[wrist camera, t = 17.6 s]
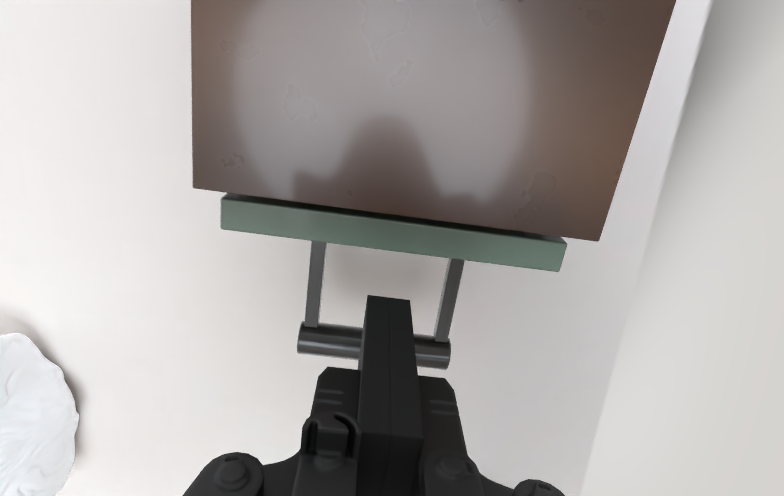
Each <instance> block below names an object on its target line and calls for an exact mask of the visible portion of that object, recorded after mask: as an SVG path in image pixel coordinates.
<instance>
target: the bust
mask: <svg viewBox="0 0 784 496" xmlns="http://www.w3.org/2000/svg"><path fill="white" fill-rule="evenodd" d="M78 422H79V414H78V412H77V411H76V407H75V401H74V399H73V396H72V393H71V391H70V389H69V387H68V385H67V384H66V382H65V380H64V374H63V371H62V369H61V368H60V367H58V366H57V365H55V364H54V363H52V362H51V361H49V360H48V359H46V358H45V357H44V356H43V355H42V353H41V352H40V350H39V349H38V348H37V347H36V346H35V345H34V343H33V342H32V341H31V340H30V339H29V338H28V337H27V336H25V335H23V334H20V333H10V334H5V335H0V496H54V495H56V494H57V493H58V492H59V491H60V490H61V488H62V487H63V485H64V484H65V482H66V480H67V477H68V475H69V472H70V470H71V468H72V466H73V463H74V460H75V440H74V435H75V432H76V429H77V426H78Z"/></svg>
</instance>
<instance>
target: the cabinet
mask: <svg viewBox="0 0 784 496" xmlns="http://www.w3.org/2000/svg"><path fill="white" fill-rule="evenodd" d="M675 3H676V0H191V62H192V160H193V188H196V189H204V190H211V191H219V192H227V193H234V194H242V195H249V196H257V197H265V198H272V199H280V200H287V201H295V202H302V203H310V204H318V205H325V206H333V207H340V208H348V209H355V210H363V211H371V212H378V213H386V214H393V215H401V216H408V217H416V218H424V219H431V220H439V221H446V222H454V223H461V224H469V225H477V226H484V227H492V228H499V229H507V230H515V231H522V232H530V233H537V234H545V235H552V236H560V237H568V238H575V239H583V240H590V241H599V239H600V236H601V233H602V230H603V227H604V224H605V220H606V217H607V214H608V211H609V208H610V205H611V202H612V199H613V196H614V192H615V189H616V186H617V183H618V180H619V177H620V174H621V171H622V168H623V164H624V161H625V158H626V155H627V152H628V149H629V146H630V143H631V140H632V136H633V133H634V130H635V127H636V124H637V121H638V118H639V115H640V112H641V108H642V105H643V102H644V99H645V96H646V93H647V90H648V87H649V84H650V80H651V77H652V74H653V71H654V68H655V65H656V62H657V59H658V55H659V52H660V49H661V46H662V43H663V40H664V37H665V34H666V31H667V27H668V24H669V21H670V18H671V15H672V12H673V9H674V6H675Z"/></svg>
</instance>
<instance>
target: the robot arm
mask: <svg viewBox="0 0 784 496" xmlns="http://www.w3.org/2000/svg"><path fill="white" fill-rule="evenodd" d="M183 496H565V495H564V494H563V493H562V492H561V491H560V490H558V489H557V488H555V487H554V486H552V485H551V484H549V483H546V482H543V481H540V480H532V479H528V480H525V481H522V482H520V483H519V484H518V485H517V486H516V487H515V489H511V488H509V487H506V486H503V485H501V484H498V483H495V482H493V481H491V480H489V479H487V478H486V477H484V476H483V475H482V474H480V473H479V471H478V469H477V466H476V464H475V463H474V462H473V461H472V460H471V459H470V458H469V457H468V455H467V450H466V445H465V441H464V436H463V431H462V426H461V421H460V417H459V412H458V407H457V402H456V397H455V393H454V390H453V388H452V387H451V386H450V384H449V383H448V382H447V380H446V379H445V378H437V377H428V376H419V375H418V373H417V364H416V354H415V344H414V335H413V325H412V315H411V306H410V300H405V299H396V298H388V297H380V296H371V295H368V296H367V304H366V311H365V318H364V325H363V333H362V340H361V347H360V354H359V362H358V370H354V369H344V368H335V367H327V368H326V369H325V370H324V371H323V372H322V373H321V374H320V375H319V377H318V381H317V386H316V391H315V395H314V400H313V405H312V410H311V414H310V417H309V418H308V419H306V421H305V423H304V425H303V427H302V438H301V449H300V450H299V452H297V453H296V454H295V455H294V456H292V457H291V458H289V459H287V460H285V461H281V462H278V463H273V464H267V465H262V464H261V463H260V461H259V460H258V459H257V458H255V457H253V456H251V455H250V454H247V453H239V452H234V453H228V454H224V455H221V456H219V457H217V458H215V459H213V460H212V461H211V462H210V463H209V464H208V465H206V466H205V467H204V468H203V470H202V471H201V472H200V474H199V475H198V476H197V478H196V479H195V480H194V481H193V483H192V484H191V485H190V487H189V488H188V489H187V491H186V492H185V493H184V495H183Z"/></svg>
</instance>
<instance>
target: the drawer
mask: <svg viewBox="0 0 784 496" xmlns="http://www.w3.org/2000/svg"><path fill="white" fill-rule="evenodd" d="M220 227H221V229H224V230H232V231H240V232H248V233H256V234H264V235H272V236H279V237H287V238H295V239H303V240H311V241H312V245H311V256H310V268H309V280H308V291H307V303H306V314H305V321H302V323H301V325H300V330H299V335H298V343H297V353H299V354H308V355H317V356H326V357H335V358H344V359H353V360H359V354H360V347H361V340H362V333H363V328H360V327H352V326H343V325H334V324H326V323H319V318H320V307H321V297H322V287H323V277H324V267H325V257H326V247H327V243H335V244H342V245H350V246H358V247H366V248H374V249H382V250H390V251H398V252H405V253H413V254H421V255H429V256H437V257H445V258H449V260H448V265H447V270H446V275H445V280H444V285H443V290H442V295H441V300H440V305H439V310H438V315H437V320H436V325H435V330H434V336H429V335H421V334H413V335H414V344H415V354H416V364H417V367H424V368H433V369H442V370H446V369H447V368H448V365H449V362H450V355H451V343H450V339H449V338H448V335H449V330H450V326H451V321H452V317H453V312H454V307H455V303H456V298H457V293H458V289H459V284H460V279H461V275H462V270H463V265H464V261H465V260H468V261H476V262H484V263H492V264H500V265H508V266H516V267H524V268H531V269H539V270H547V271H555V272H559V270H560V267H561V264H562V260H563V257H564V254H565V250H566V247H567V243H566V242H565V241H564V240H563V239H562V238H561V237H560V236H552V235H545V234H537V233H530V232H522V231H515V230H507V229H499V228H492V227H484V226H477V225H469V224H461V223H454V222H446V221H439V220H431V219H424V218H416V217H408V216H401V215H393V214H386V213H378V212H371V211H363V210H355V209H348V208H340V207H333V206H325V205H318V204H310V203H302V202H295V201H287V200H280V199H272V198H265V197H257V196H249V195H242V194H234V193H227V194H226V195H224V196H223V197H222V198H221V226H220Z"/></svg>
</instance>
